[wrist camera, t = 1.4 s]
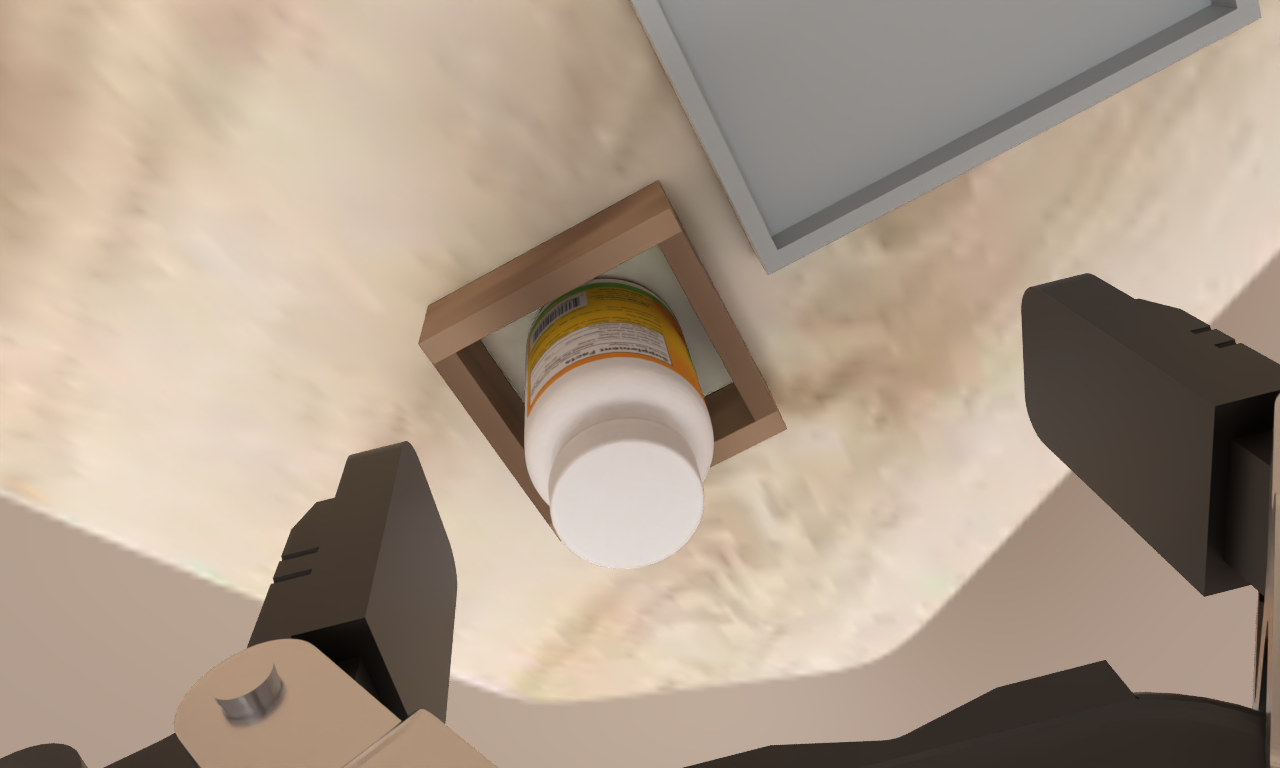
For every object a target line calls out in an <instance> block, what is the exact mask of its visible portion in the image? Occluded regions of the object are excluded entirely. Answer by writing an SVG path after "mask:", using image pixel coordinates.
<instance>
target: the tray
mask: <svg viewBox="0 0 1280 768" xmlns="http://www.w3.org/2000/svg"><path fill="white" fill-rule="evenodd" d="M629 1H630V3H631V5H632V7H633V9H634V11H635V13H636V15H637V17H638V19H639V21H640V23H641V25H642V27H643V29H644V31H645V33H646V35H647V37H648V39H649V41H650V43H651V45H652V47H653V49H654V51H655V53H656V55H657V57H658V59H659V61H660V63H661V65H662V67H663V69H664V71H665V73H666V75H667V77H668V79H669V82H670V84H671V86H672V88H673V90H674V92H675V94H676V96H677V98H678V100H679V102H680V104H681V106H682V108H683V110H684V112H685V114H686V116H687V118H688V120H689V122H690V124H691V126H692V128H693V130H694V132H695V134H696V136H697V138H698V140H699V142H700V144H701V146H702V148H703V150H704V152H705V154H706V156H707V158H708V160H709V162H710V164H711V166H712V168H713V170H714V172H715V174H716V176H717V178H718V180H719V182H720V184H721V186H722V188H723V190H724V192H725V194H726V196H727V198H728V200H729V202H730V204H731V206H732V208H733V210H734V212H735V214H736V216H737V218H738V220H739V222H740V224H741V226H742V228H743V230H744V232H745V234H746V236H747V238H748V240H749V242H750V244H751V246H752V248H753V250H754V252H755V254H756V256H757V258H758V259H759V261H760V263H761V264H762V266H763V268H764V269H765V271H766V272H767V274H768V275H769V274H771V273H773V272H775V271H777V270H779V269H781V268H783V267H785V266H787V265H789V264H790V263H792V262H794V261H796V260H798V259H800V258H802V257H804V256H806V255H808V254H810V253H812V252H813V251H815V250H817V249H819V248H821V247H823V246H825V245H827V244H829V243H831V242H833V241H835V240H836V239H838V238H840V237H842V236H844V235H846V234H848V233H850V232H852V231H854V230H856V229H857V228H859V227H861V226H863V225H865V224H867V223H869V222H871V221H873V220H875V219H877V218H879V217H880V216H882V215H884V214H886V213H888V212H890V211H892V210H894V209H896V208H898V207H900V206H902V205H903V204H905V203H907V202H909V201H911V200H913V199H915V198H917V197H919V196H921V195H923V194H924V193H926V192H928V191H930V190H932V189H934V188H936V187H938V186H940V185H942V184H944V183H946V182H947V181H949V180H951V179H953V178H955V177H957V176H959V175H961V174H963V173H965V172H967V171H969V170H970V169H972V168H974V167H976V166H978V165H980V164H982V163H984V162H986V161H988V160H990V159H992V158H993V157H995V156H997V155H999V154H1001V153H1003V152H1005V151H1007V150H1009V149H1011V148H1013V147H1014V146H1016V145H1018V144H1020V143H1022V142H1024V141H1026V140H1028V139H1030V138H1032V137H1034V136H1036V135H1037V134H1039V133H1041V132H1043V131H1045V130H1047V129H1049V128H1051V127H1053V126H1055V125H1057V124H1059V123H1060V122H1062V121H1064V120H1066V119H1068V118H1070V117H1072V116H1074V115H1076V114H1078V113H1080V112H1081V111H1083V110H1085V109H1087V108H1089V107H1091V106H1093V105H1095V104H1097V103H1099V102H1101V101H1103V100H1104V99H1106V98H1108V97H1110V96H1112V95H1114V94H1116V93H1118V92H1120V91H1122V90H1124V89H1126V88H1127V87H1129V86H1131V85H1133V84H1135V83H1137V82H1139V81H1141V80H1143V79H1145V78H1147V77H1148V76H1150V75H1152V74H1154V73H1156V72H1158V71H1160V70H1162V69H1164V68H1166V67H1168V66H1170V65H1171V64H1173V63H1175V62H1177V61H1179V60H1181V59H1183V58H1185V57H1187V56H1189V55H1191V54H1193V53H1194V52H1196V51H1198V50H1200V49H1202V48H1204V47H1206V46H1208V45H1210V44H1212V43H1214V42H1216V41H1217V40H1219V39H1221V38H1223V37H1225V36H1227V35H1229V34H1231V33H1233V32H1235V31H1237V30H1238V29H1240V28H1242V27H1244V26H1246V25H1248V24H1250V23H1252V22H1254V21H1256V20H1258V19H1260V18H1261V14H1260V8H1259V3H1258V0H629Z"/></svg>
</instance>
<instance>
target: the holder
mask: <svg viewBox="0 0 1280 768" xmlns="http://www.w3.org/2000/svg"><path fill="white" fill-rule="evenodd" d="M657 244H658V245H659V247H660V248H661V250H662V252H663V254H664V256H665V258H666V259H667V261H668V263H669V265H670V267H671V268H672V270H673V272H674V274H675V276H676V278H677V279H678V281H679V283H680V285H681V287H682V289H683V290H684V292H685V294H686V296H687V298H688V299H689V301H690V303H691V305H692V307H693V309H694V310H695V312H696V314H697V316H698V318H699V319H700V321H701V323H702V325H703V327H704V329H705V330H706V332H707V334H708V336H709V338H710V340H711V341H712V343H713V345H714V347H715V349H716V350H717V352H718V354H719V356H720V358H721V360H722V361H723V363H724V365H725V367H726V369H727V371H728V372H729V374H730V376H731V378H732V380H733V381H734V383H732V384H730V385H728V386H726V387H724V388H722V389H720V390H718V391H717V392H715V393H713V394H711V395H709V396H707V397H705V398H704V400H705V403H706V406H707V409H708V412H709V416H710V420H711V424H712V428H713V436H714V451H713V458H712V462H711V465H710V467H712V466H714V465H716V464H718V463H720V462H722V461H724V460H726V459H728V458H730V457H732V456H734V455H736V454H738V453H740V452H742V451H744V450H746V449H748V448H750V447H752V446H754V445H756V444H758V443H760V442H762V441H764V440H766V439H768V438H770V437H772V436H774V435H776V434H778V433H780V432H782V431H784V430H786V429H787V427H786V425H785V423H784V421H783V419H782V417H781V414H780V412H779V410H778V408H777V406H776V404H775V402H774V399H773V397H772V395H771V393H770V391H769V389H768V387H767V385H766V383H765V381H764V379H763V377H762V375H761V373H760V372H759V370H758V368H757V366H756V364H755V362H754V360H753V358H752V356H751V355H750V353H749V351H748V349H747V347H746V345H745V343H744V341H743V340H742V338H741V336H740V334H739V332H738V330H737V328H736V326H735V324H734V323H733V321H732V319H731V317H730V315H729V313H728V311H727V309H726V307H725V306H724V304H723V302H722V300H721V298H720V296H719V294H718V292H717V290H716V289H715V287H714V285H713V283H712V281H711V279H710V277H709V275H708V273H707V272H706V270H705V268H704V266H703V264H702V262H701V260H700V258H699V256H698V255H697V253H696V251H695V249H694V247H693V245H692V243H691V241H690V240H689V238H688V236H687V234H686V232H685V230H684V228H683V226H682V224H681V223H680V221H679V219H678V217H677V215H676V213H675V211H674V209H673V207H672V206H671V204H670V202H669V200H668V198H667V196H666V194H665V192H664V190H663V189H662V187H661V185H660V183H659V181H656V182H654V183H652V184H651V185H649V186H647V187H645V188H643V189H641V190H640V191H638V192H636V193H634V194H632V195H630V196H629V197H627V198H625V199H623V200H621V201H620V202H618V203H616V204H614V205H612V206H610V207H609V208H607V209H605V210H603V211H601V212H599V213H598V214H596V215H594V216H592V217H590V218H588V219H587V220H585V221H583V222H581V223H579V224H577V225H576V226H574V227H572V228H570V229H568V230H567V231H565V232H563V233H561V234H559V235H557V236H556V237H554V238H552V239H550V240H548V241H546V242H545V243H543V244H541V245H539V246H537V247H535V248H534V249H532V250H530V251H528V252H526V253H524V254H523V255H521V256H519V257H517V258H515V259H514V260H512V261H510V262H508V263H506V264H504V265H503V266H501V267H499V268H497V269H495V270H493V271H492V272H490V273H488V274H486V275H484V276H482V277H481V278H479V279H477V280H475V281H473V282H471V283H470V284H468V285H466V286H464V287H462V288H460V289H459V290H457V291H455V292H453V293H451V294H450V295H448V296H446V297H444V298H442V299H440V300H439V301H437V302H435V303H433V304H431V305H429V306H428V309H427V313H426V316H425V320H424V324H423V328H422V332H421V336H420V340H419V343H418V344H419V346H420V347H421V349H422V350H423V351H424V353H425V354H426V355H427V357H428V358H429V360H430V361H431V362H432V364H433V365H434V367H435V368H436V369H437V371H438V372H439V373H440V375H441V376H442V378H443V379H444V380H445V382H446V383H447V385H448V386H449V387H450V389H451V390H452V391H453V393H454V394H455V396H456V397H457V398H458V400H459V401H460V403H461V404H462V405H463V407H464V408H465V409H466V411H467V412H468V414H469V415H470V416H471V418H472V419H473V421H474V422H475V423H476V425H477V426H478V427H479V429H480V430H481V432H482V433H483V434H484V436H485V437H486V439H487V440H488V441H489V443H490V444H491V445H492V447H493V448H494V450H495V451H496V452H497V454H498V455H499V457H500V458H501V459H502V461H503V462H504V463H505V465H506V466H507V468H508V469H509V470H510V472H511V473H512V475H513V476H514V477H515V479H516V480H517V481H518V483H519V484H520V486H521V487H522V488H523V490H524V491H525V493H526V494H527V495H528V497H529V498H530V499H531V501H532V502H533V504H534V505H535V506H536V508H537V509H538V511H539V512H540V513H541V515H542V516H543V517H544V519H545V520H546V522H547V523H548V524H549V526H550V527H551V529H552V530H553V531H554V533H555V534H556V536H557V537H558V538H559V536H558V534H557V533H556V531H555V528H554V526H553V523H552V519H551V515H550V506H549V505H548V504H547V503H546V502H545V501H544V500H543V499H542V497H541V496H540V495H539V493H538V492H537V490H536V488H535V487H534V485H533V483H532V481H531V478H530V476H529V473H528V470H527V465H526V460H525V449H524V428H525V405H524V404H523V402H522V401H521V400H520V398H519V397H518V395H517V394H516V392H515V391H514V389H513V388H512V386H511V385H510V383H509V382H508V381H507V379H506V378H505V376H504V375H503V373H502V372H501V370H500V369H499V367H498V366H497V364H496V363H495V362H494V360H493V359H492V357H491V356H490V354H489V353H488V351H487V350H486V348H485V347H484V345H483V344H482V343H481V341H480V339H482V338H484V337H485V336H487V335H489V334H491V333H493V332H495V331H497V330H498V329H500V328H502V327H504V326H506V325H508V324H510V323H512V322H513V321H515V320H517V319H519V318H521V317H523V316H525V315H526V314H528V313H530V312H532V311H534V310H536V309H538V308H539V307H541V306H543V305H545V304H547V303H549V302H551V301H553V300H554V299H556V298H558V297H560V296H562V295H564V294H566V293H567V292H569V291H571V290H573V289H575V288H577V287H579V286H580V285H582V284H584V283H586V282H588V281H590V280H592V279H594V278H595V277H597V276H599V275H601V274H603V273H605V272H607V271H608V270H610V269H612V268H614V267H616V266H618V265H620V264H621V263H623V262H625V261H627V260H629V259H631V258H633V257H634V256H636V255H638V254H640V253H642V252H644V251H646V250H648V249H649V248H651V247H653V246H655V245H657ZM559 540H560V541H561V539H560V538H559Z"/></svg>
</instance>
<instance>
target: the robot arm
mask: <svg viewBox="0 0 1280 768" xmlns="http://www.w3.org/2000/svg"><path fill="white" fill-rule="evenodd" d="M1021 314H1022V337H1023V361H1024V384H1025V401H1026V407H1027V411H1028V414H1029V418H1030V421H1031V423H1032V426H1033V428H1034V430H1035V432H1036V433H1037V435H1038V437H1039V438H1040V440H1041V441H1042V442H1043V443H1044V444H1045V445H1046V446H1047V447H1048V448H1049V449H1050V450H1051V451H1052V452H1053V453H1054V454H1055V455H1056V456H1057V457H1058V458H1059V459H1060V460H1061V461H1063V462H1064V463H1065V464H1066V465H1067V466H1068V467H1069V468H1070V469H1071V470H1072V471H1073V472H1074V473H1075V474H1076V475H1077V476H1078V477H1079V478H1080V479H1081V480H1082V481H1084V482H1085V483H1086V484H1087V485H1088V486H1089V487H1090V488H1091V489H1092V490H1093V491H1094V492H1095V493H1096V494H1097V495H1098V496H1099V497H1100V498H1101V499H1102V500H1103V501H1104V502H1106V503H1107V504H1108V505H1109V506H1110V507H1111V508H1112V509H1113V510H1114V511H1115V512H1116V513H1117V514H1118V515H1119V516H1120V517H1121V518H1122V519H1123V520H1124V521H1125V522H1126V523H1127V524H1129V525H1130V526H1131V527H1132V528H1133V529H1134V530H1135V531H1136V532H1137V533H1138V534H1139V535H1140V536H1141V537H1142V538H1143V539H1144V540H1145V541H1146V542H1147V543H1148V544H1149V545H1151V546H1152V547H1153V548H1154V549H1155V550H1156V551H1157V552H1158V553H1159V554H1160V555H1161V556H1162V557H1163V558H1164V559H1165V560H1166V561H1167V562H1168V563H1169V564H1170V565H1172V566H1173V567H1174V568H1175V569H1176V570H1177V571H1178V572H1179V573H1180V574H1181V575H1182V576H1183V577H1184V578H1185V579H1186V580H1187V581H1189V583H1190V584H1191V585H1192V586H1193V587H1195V588H1196V589H1197V590H1198V591H1199V592H1200V593H1201V594H1202V595H1203V596H1204V597H1205V596H1209V595H1213V594H1217V593H1221V592H1225V591H1228V590H1233V589H1237V588H1240V587H1244V586H1248V585H1252V586H1253V587H1254V588H1256V589H1257V590H1258V601H1257V613H1256V631H1255V654H1254V655H1255V656H1254V678H1253V701H1252V702H1253V703H1252V709H1251V708H1248V707H1244V706H1241V705H1238V704H1233V703H1228V702H1224V701H1219V700H1215V699H1210V698H1205V697H1197V696H1189V695H1182V694H1172V693H1152V692H1138V693H1137V692H1136V693H1132V692H1131V691H1130V689H1129V688H1128V687H1127V686H1126V684H1125V683H1124V682H1123V681H1122V680H1121V678H1120V677H1119V676H1118V675H1117V673H1116V672H1115V671H1114V670H1113V669H1112V667H1111V666H1110V665H1109V664H1108V663H1107V661H1106V660H1104V661H1099V662H1096V663H1092V664H1088V665H1084V666H1080V667H1076V668H1072V669H1068V670H1064V671H1060V672H1056V673H1052V674H1049V675H1045V676H1041V677H1037V678H1033V679H1029V680H1025V681H1021V682H1017V683H1013V684H1009V685H1005V686H1002V687H998V688H995V689H993V690H991V691H990V692H987V693H986V694H984V695H982V696H980V697H978V698H976V699H974V700H972V701H970V702H968V703H966V704H964V705H962V706H960V707H958V708H956V709H954V710H953V711H951V712H949V713H947V714H945V715H943V716H941V717H939V718H937V719H935V720H933V721H931V722H929V723H927V724H925V725H923V726H922V727H920V728H918V729H916V730H914V731H912V732H910V733H908V734H906V735H904V736H901V737H899V738H896V739H891V740H883V741H863V742H839V743H815V744H792V745H770V746H767V747H762V748H758V749H755V750H751V751H747V752H743V753H739V754H735V755H731V756H727V757H723V758H719V759H715V760H712V761H708V762H704V763H700V764H696V765H692V766H688V767H684V768H1280V365H1279V364H1278V363H1276V362H1274V361H1273V360H1271V359H1269V358H1267V357H1266V356H1264V355H1262V354H1260V353H1258V352H1256V351H1255V350H1253V349H1251V348H1249V347H1248V346H1245V345H1244V344H1242V343H1239V344H1236V343H1235V339H1233V338H1231V337H1230V336H1228V335H1226V334H1224V333H1222V332H1221V331H1219V330H1217V329H1214V330H1211V328H1210V325H1208V324H1206V323H1204V322H1203V321H1201V320H1199V319H1197V318H1196V317H1194V316H1192V315H1190V314H1188V313H1187V312H1185V311H1183V310H1181V309H1178V308H1174V307H1170V306H1166V305H1162V304H1158V303H1154V302H1150V301H1146V300H1142V299H1134V298H1132V297H1130V296H1129V295H1127V294H1125V293H1124V292H1122V291H1120V290H1118V289H1117V288H1115V287H1113V286H1112V285H1110V284H1108V283H1106V282H1105V281H1103V280H1101V279H1100V278H1098V277H1096V276H1094V275H1092V274H1089V273H1085V274H1081V275H1077V276H1073V277H1069V278H1065V279H1061V280H1057V281H1053V282H1049V283H1045V284H1041V285H1037V286H1033V287H1029V288H1028V289H1027V290H1026V291H1025V293H1024V295H1023V299H1022V306H1021ZM281 557H282V561H280V562H279V564H278V567H277V569H276V572H275V575H274V577H273V580H274V584H271V585H270V588H269V590H268V593H267V596H266V598H265V601H264V604H263V606H262V609H261V612H260V614H259V617H258V620H257V622H256V625H255V628H254V630H253V633H252V636H251V638H250V641H249V644H248V646H247V649H245V650H243V651H240V652H238V653H236V654H234V655H232V656H231V657H229V658H227V659H225V660H224V661H222V662H221V663H219V664H218V665H216V666H215V667H213V668H212V669H211V670H210V671H208V672H207V673H206V674H205V675H204V676H202V677H201V678H200V679H199V680H198V681H197V682H196V683H195V684H194V685H193V686H192V687H191V689H190V690H189V691H188V692H187V694H186V695H185V696H184V698H183V700H182V701H181V703H180V705H179V706H178V709H177V712H176V714H175V719H174V729H175V733H174V734H172V735H170V736H169V737H166V738H165V739H163V740H161V741H159V742H157V743H155V744H153V745H150V746H148V747H147V748H144V749H142V750H140V751H138V752H136V753H134V754H131V755H129V756H127V757H125V758H123V759H121V760H119V761H117V762H115V763H113V764H110V765H108V766H106V767H104V768H498V767H497V766H496V765H494V764H493V763H492V762H491V761H490V760H488V759H487V758H486V757H485V756H483V755H482V754H481V753H480V752H478V751H477V750H476V749H475V748H474V747H472V746H471V745H470V744H469V743H467V742H466V741H465V740H464V739H463V738H461V737H460V736H459V735H458V734H456V733H455V732H454V731H453V730H451V729H450V728H449V727H448V726H447V725H445V721H446V710H447V698H448V686H449V676H450V664H451V653H452V642H453V630H454V619H455V607H456V596H457V575H456V568H455V562H454V557H453V553H452V549H451V546H450V543H449V540H448V537H447V534H446V531H445V529H444V526H443V523H442V521H441V518H440V515H439V512H438V510H437V507H436V504H435V502H434V499H433V496H432V493H431V491H430V488H429V485H428V483H427V480H426V477H425V475H424V472H423V469H422V466H421V464H420V461H419V459H418V456H417V454H416V452H415V450H414V448H413V446H412V445H411V444H410V443H409V442H408V441H405V442H401V443H397V444H393V445H389V446H385V447H381V448H377V449H373V450H369V451H364V452H360V453H356V454H352V455H350V456H349V457H348V459H347V462H346V465H345V468H344V471H343V474H342V477H341V480H340V483H339V486H338V490H337V493H336V496H335V498H332V499H328V500H324V501H320V502H316V503H315V504H314V506H313V507H312V508H311V509H310V510H309V511H308V512H307V513H306V514H305V515H304V516H303V518H302V519H301V520H300V521H299V522H298V523H297V524H296V525H295V526H294V527H293V528H292V529H291V532H290V535H289V537H288V540H287V543H286V545H285V548H284V551H283V553H282V556H281ZM0 768H87V766H86V765H85V763H84V761H83V760H82V759H81V757H80V755H79V754H78V752H77V751H76V750H75V749H73V748H72V747H70V746H68V745H64V744H55V743H51V744H41V745H37V746H33V747H29V748H26V749H23V750H20V751H17V752H14V753H12V754H10V755H8V756H5V757H3V758H1V759H0Z"/></svg>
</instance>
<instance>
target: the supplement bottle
mask: <svg viewBox="0 0 1280 768" xmlns="http://www.w3.org/2000/svg"><path fill="white" fill-rule="evenodd" d="M524 449H525V460H526V465H527V470H528V473H529V476H530V478H531V481H532V483H533V485H534V487H535V488H536V490H537V492H538V493H539V495H540V496H541V497H542V499H543V500H544V501H545V502H546V503H547V504H548V505H549V506H550V515H551V519H552V523H553V526H554V528H555V531H556V533H557V534H558V536H559V538H560V539H561V541H562V542H563V543H564V545H565V546H566V547H567V548H568V549H569V550H570V551H572V552H573V553H574V554H576V555H577V556H578V557H580V558H582V559H584V560H586V561H588V562H590V563H592V564H595V565H598V566H602V567H607V568H613V569H633V568H640V567H645V566H648V565H651V564H654V563H656V562H659V561H661V560H664V559H665V558H667V557H669V556H671V555H672V554H673V553H675V552H676V551H678V550H679V549H680V548H681V547H682V546H683V545H684V544H685V543H686V542H687V541H688V540H689V539H690V538H691V536H692V535H693V533H694V532H695V530H696V528H697V527H698V525H699V522H700V519H701V517H702V514H703V508H704V489H703V485H702V484H703V482H704V480H705V478H706V476H707V474H708V471H709V469H710V465H711V462H712V458H713V451H714V436H713V428H712V424H711V420H710V416H709V412H708V409H707V406H706V403H705V400H704V397H703V394H702V391H701V388H700V385H699V382H698V379H697V375H696V372H695V369H694V366H693V363H692V360H691V357H690V354H689V351H688V348H687V345H686V343H685V340H684V337H683V334H682V331H681V329H680V327H679V324H678V322H677V320H676V318H675V316H674V314H673V313H672V311H671V310H670V309H669V307H668V306H667V305H666V304H665V303H664V302H663V301H662V300H661V299H660V298H659V297H658V296H656V295H655V294H654V293H652V292H651V291H649V290H647V289H645V288H644V287H642V286H639V285H637V284H634V283H631V282H627V281H623V280H617V279H595V280H590V281H588V282H586V283H584V284H582V285H580V286H579V287H577V288H575V289H573V290H571V291H569V292H567V293H566V294H564V295H562V296H560V297H558V298H556V299H554V300H553V301H551V302H549V303H547V304H546V305H545V306H544V307H543V309H542V310H541V311H540V312H539V314H538V316H537V317H536V319H535V321H534V323H533V325H532V327H531V329H530V332H529V336H528V340H527V346H526V368H525V428H524Z"/></svg>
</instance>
